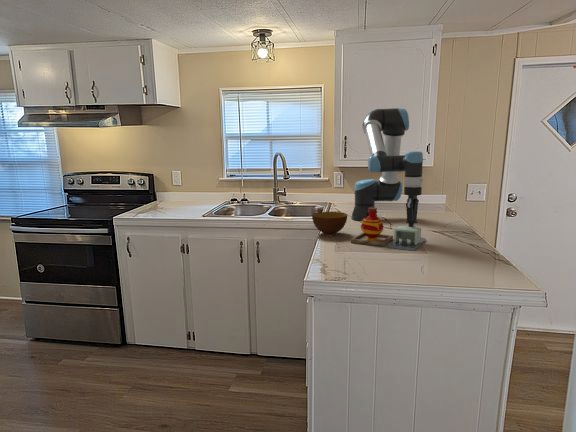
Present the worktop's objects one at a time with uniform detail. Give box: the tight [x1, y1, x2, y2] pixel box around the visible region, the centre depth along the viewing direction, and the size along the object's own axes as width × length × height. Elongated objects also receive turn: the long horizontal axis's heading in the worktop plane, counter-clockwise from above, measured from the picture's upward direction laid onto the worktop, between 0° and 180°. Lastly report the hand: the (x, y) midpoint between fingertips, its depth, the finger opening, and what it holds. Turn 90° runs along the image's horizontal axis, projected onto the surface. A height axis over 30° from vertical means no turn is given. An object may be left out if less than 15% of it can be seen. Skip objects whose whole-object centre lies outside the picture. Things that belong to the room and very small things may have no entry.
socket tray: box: [350, 232, 394, 248], centre depth 189 cm, size 15×15×2 cm
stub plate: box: [388, 237, 427, 252], centre depth 182 cm, size 11×20×4 cm, turn 148°
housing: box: [393, 225, 422, 245], centre depth 181 cm, size 10×7×6 cm
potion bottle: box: [360, 207, 384, 241], centre depth 188 cm, size 10×10×15 cm
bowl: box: [311, 211, 348, 236], centre depth 204 cm, size 18×18×10 cm
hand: (411, 237), depth 186 cm, fingers closed
